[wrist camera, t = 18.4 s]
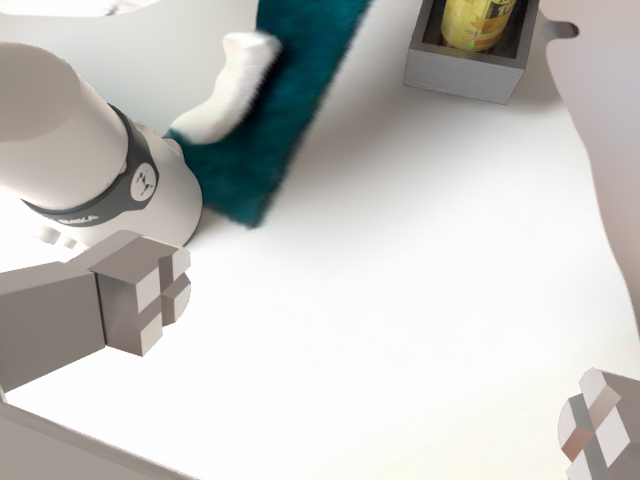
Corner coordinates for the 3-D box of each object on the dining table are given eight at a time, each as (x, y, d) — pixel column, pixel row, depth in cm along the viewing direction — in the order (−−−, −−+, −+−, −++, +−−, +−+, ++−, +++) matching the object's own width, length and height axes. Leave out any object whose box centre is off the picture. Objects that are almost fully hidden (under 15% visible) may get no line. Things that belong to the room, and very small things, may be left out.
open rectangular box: (403, 84, 46) (408, 48, 41) (429, -4, 50) (437, -47, 44) (505, 104, 45) (525, 69, 39) (526, 12, 48) (546, -32, 42)
